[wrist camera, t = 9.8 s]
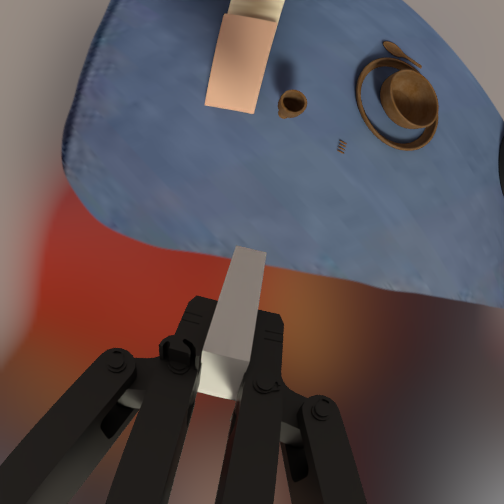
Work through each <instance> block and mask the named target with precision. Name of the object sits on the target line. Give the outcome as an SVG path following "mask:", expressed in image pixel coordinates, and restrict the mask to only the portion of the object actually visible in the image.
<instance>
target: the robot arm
mask: <svg viewBox="0 0 504 504" xmlns="http://www.w3.org/2000/svg"><path fill="white" fill-rule="evenodd" d="M499 172H500V181H501V187H502V191H503V195H504V138H503V140H502V143H501V148H500V156H499ZM265 259H266V252H261V251H257V250H253V249H249V248H245V247H240V246H236V248H235V251H234V254H233V257H232V260H231V263H230V266H229V269H228V273H227V275H226V278H225V282H224V284H223V288H222V291H221V294H220V297H219V300H218V301H216V300H212V299H208V298H204V297H201V296H196V297H194V298H193V299H192V300H191V301H190V302H189V303H188V305H187V307H186V309H185V312H184V314H183V316H182V319H181V321H180V323H179V326H178V328H177V330H176V333H175V335H171V336H168V337H166V338H165V339H163V340H162V341H161V343H160V344H159V355H160V356H158V357H155V358H134V357H133V355H131V354H130V353H129V352H128V351H127V350H124V349H122V348H112V349H109V350H107V351H105V352H104V353H102V354H101V355H100V356H99V357H98V358H97V359H96V360H95V361H94V363H92V364H91V366H90V367H89V368H88V369H87V370H86V371H85V372H84V373H83V374H82V375H81V376H80V377H79V378H78V379H77V380H76V381H75V382H74V384H73V385H72V386H71V387H70V388H69V389H68V390H67V391H66V392H65V393H64V394H63V395H62V396H61V398H60V399H59V400H58V401H57V402H56V403H55V404H54V405H53V406H52V407H51V408H50V410H49V411H48V412H47V413H46V414H45V415H44V416H43V417H42V418H41V419H40V420H39V422H38V423H37V424H36V425H35V426H34V427H33V428H32V430H31V431H30V432H29V433H28V434H27V435H26V436H25V438H24V439H23V440H22V441H21V442H20V443H19V444H18V446H17V447H16V448H15V449H14V450H13V451H12V453H11V454H10V455H9V456H8V457H7V458H6V460H5V461H4V462H3V463H2V465H1V466H0V504H68V502H69V501H70V500H71V499H72V497H73V496H74V495H75V494H76V492H77V491H78V490H79V488H80V487H81V486H82V484H83V483H84V482H85V480H86V479H87V478H88V477H89V475H90V474H91V473H92V471H93V470H94V469H95V467H96V466H97V465H98V463H99V462H100V461H101V459H102V458H103V457H104V455H105V454H106V453H107V452H108V450H109V449H110V448H111V446H112V445H113V444H114V442H115V441H116V440H117V438H118V437H119V436H120V434H121V433H122V431H123V430H124V429H125V428H126V427H127V425H128V424H129V423H130V421H131V420H132V419H133V417H134V416H135V415H136V413H137V412H138V411H139V412H138V415H137V417H136V420H135V422H134V425H133V428H132V430H131V433H130V436H129V438H128V441H127V444H126V446H125V449H124V452H123V454H122V458H121V460H120V463H119V466H118V468H117V471H116V474H115V477H114V480H113V483H112V486H111V489H110V492H109V494H108V497H107V500H106V504H168V501H169V497H170V493H171V490H172V486H173V482H174V478H175V474H176V471H177V467H178V463H179V459H180V456H181V452H182V449H183V445H184V441H185V437H186V434H187V430H188V427H189V423H190V419H191V416H192V412H193V409H194V405H195V398H196V394H197V392H201V393H205V394H209V395H213V396H217V397H222V398H226V399H231V400H235V401H236V403H235V408H234V411H233V414H232V416H231V419H230V421H231V424H230V429H229V434H228V440H227V444H226V450H225V455H224V460H223V465H222V470H221V475H220V480H219V485H218V490H217V495H216V499H215V504H273V501H274V493H275V484H276V473H277V464H278V454H279V442H280V445H281V450H282V455H283V461H284V466H285V471H286V476H287V481H288V487H289V492H290V497H291V502H292V504H367V502H366V499H365V495H364V492H363V488H362V484H361V481H360V478H359V474H358V471H357V467H356V464H355V460H354V457H353V454H352V451H351V447H350V444H349V440H348V437H347V434H346V431H345V427H344V424H343V421H342V418H341V415H340V412H339V409H338V407H337V405H336V403H335V402H334V401H333V400H331V399H330V398H328V397H326V396H323V395H315V396H311V397H309V398H306V397H304V396H302V395H299V394H297V393H295V392H294V391H292V390H290V389H289V388H288V387H287V386H286V385H285V383H284V382H283V379H282V377H281V365H282V349H283V344H282V343H283V331H284V323H283V321H282V319H281V317H280V315H279V314H276V313H271V312H266V311H262V310H258V305H259V299H260V292H261V286H262V279H263V272H264V266H265ZM139 409H140V410H139Z"/></svg>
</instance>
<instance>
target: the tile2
mask: <svg viewBox="0 0 504 504" xmlns="http://www.w3.org/2000/svg"><path fill="white" fill-rule="evenodd" d="M284 1H285V0H231V2H230V6H229V9H228V13H227V14H232V15H239V16H245V17H251V18H256V19H261V20H266V21H271V22H275V23H277V25H278V21H279V18H280V14H281V11H282V8H283V4H284ZM276 28H277V27H276ZM275 31H276V30H275ZM274 35H275V34H274ZM272 42H273V41H272ZM271 46H272V45H271ZM269 53H270V52H269Z"/></svg>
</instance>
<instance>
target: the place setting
mask: <svg viewBox="0 0 504 504" xmlns="http://www.w3.org/2000/svg"><path fill="white" fill-rule="evenodd" d="M383 45H384V47H385V48H386V49H387V50H388V51H389V52H390V53H391V54H393V55H394V56H397V57H403V58H406V59H407V60H409V61H410V62H412V63H413V64H415V65H416V66H418V67H419V68H421V67H422V66H421V65H420V64H418V63H417V62H415V61H414V60H412V59H411V58H409V57H408V56H407V55H405V54H404V53H403V52H402V50H401V49H400V48H399V47H398V46H397V45H395V44H394V43H392V42H388V41H385V42H383ZM383 66H387V67H393V68H396V69H399V70H400V71H398V72H396V73H394V74H392V75H391V76H389V77H388V78H387V79H386V80H385V81H384V82H383V84H382V87H381V91H380V99H381V104H382V107H383V109H384V111H385V113H386V114H387V116H388V117H389V118H390V119H391V120H392V121H393V122H394V123H396V124H397V125H399V126H401V127H404V128H408V129H418V128H424V127H426V128H425V131H424V132H423V134H422V135H421V136H420V137H419V138H418V139H417V140H415V141H413V142H411V143H406V144H401V143H395V142H392V141H390V140H388V139H386V138H385V137H383V136H382V135H381V134H379V133H378V132H377V131H376V130H375V128H374V127H373V126H372V124H371V123H370V121H369V120H368V118H367V116H366V114H365V111H364V108H363V105H362V101H361V86H362V83H363V80H364V78H365V77H366V75H367V74H368V73H369V72H370V71H372V70H373V69H375V68H378V67H383ZM356 100H357V104H358V108H359V111H360V114H361V116H362V118H363V120H364V122H365V124H366V125H367V126H368V128H369V129H370V130H371V132H372V133H373V134H374V135H375V136H376V137H377V138H378V139H380V140H381V141H382V142H383V143H385V144H387V145H389V146H391V147H393V148H396V149H399V150H406V151H409V150H417V149H420V148H422V147H424V146H425V145H426V144H428V143H429V142H430V140H431V139H432V138H433V136H434V134H435V132H436V129H437V125H438V99H437V96H436V93H435V91H434V89H433V87H432V85H431V84H430V83H429V81H428V80H427V79H426V78H425V77H424V76H422V75H421V74H420V73H419V72H418V71H417V70H416V69H415V68H414V67H412V66H411V65H409V64H408V63H406V62H404V61H401V60H399V59H395V58H379V59H376V60H374V61H372V62H370V63H369V64H368V65H367V66H366V67H365V68H364V69H363V70H362V72H361V73H360V75H359V78H358V81H357V86H356ZM306 107H307V99H306V97H305V96H304V94H303V93H301V92H300V91H297V90H288V91H286V92H285V93H284V94H283V95H282V96H281V98H280V99H279V102H278V109H279V112H278V115H279V116H280V117H281V118H283V119H285V118H287V117H288V118H293V117H296V116H298V115H300V114H301V113H302V112H303V111H304V110H305V109H306ZM339 141H340V140H339ZM340 142H342V143H344V144H347V143H345V142H343V141H340ZM339 145H341V146H343V147H346V146H344V145H342V144H339ZM339 148H340V149H342V150H345V149H343V148H341V147H339ZM337 151H339V152H341V153H343V154H344V152H342V151H340V150H337Z"/></svg>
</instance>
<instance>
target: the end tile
mask: <svg viewBox="0 0 504 504" xmlns="http://www.w3.org/2000/svg"><path fill="white" fill-rule="evenodd" d="M276 27H277V23H275V22H271V21H266V20H261V19H256V18H251V17H245V16H239V15H232V14H225V13H224V16H223V20H222V24H221V28H220V32H219V37H218V41H217V46H216V50H215V55H214V59H213V64H212V69H211V74H210V79H209V84H208V89H207V95H206V100H205V105H207V106H213V107H219V108H225V109H230V110H235V111H241V112H246V113H250V114H254V110H255V106H256V102H257V98H258V94H259V90H260V87H261V83H262V79H263V75H264V71H265V67H266V64H267V60H268V56H269V52H270V49H271V45H272V41H273V38H274V34H275V30H276Z"/></svg>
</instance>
